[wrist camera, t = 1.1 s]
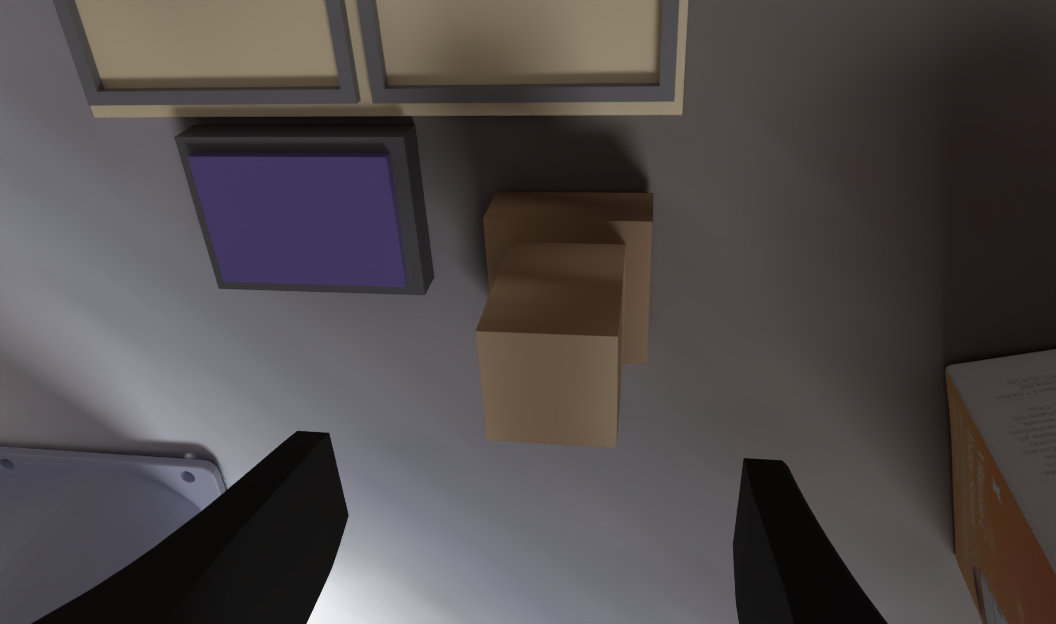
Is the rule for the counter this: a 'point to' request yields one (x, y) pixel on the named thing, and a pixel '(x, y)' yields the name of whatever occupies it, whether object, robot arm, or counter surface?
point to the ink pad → (311, 206)
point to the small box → (1006, 484)
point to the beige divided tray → (377, 57)
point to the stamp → (563, 313)
